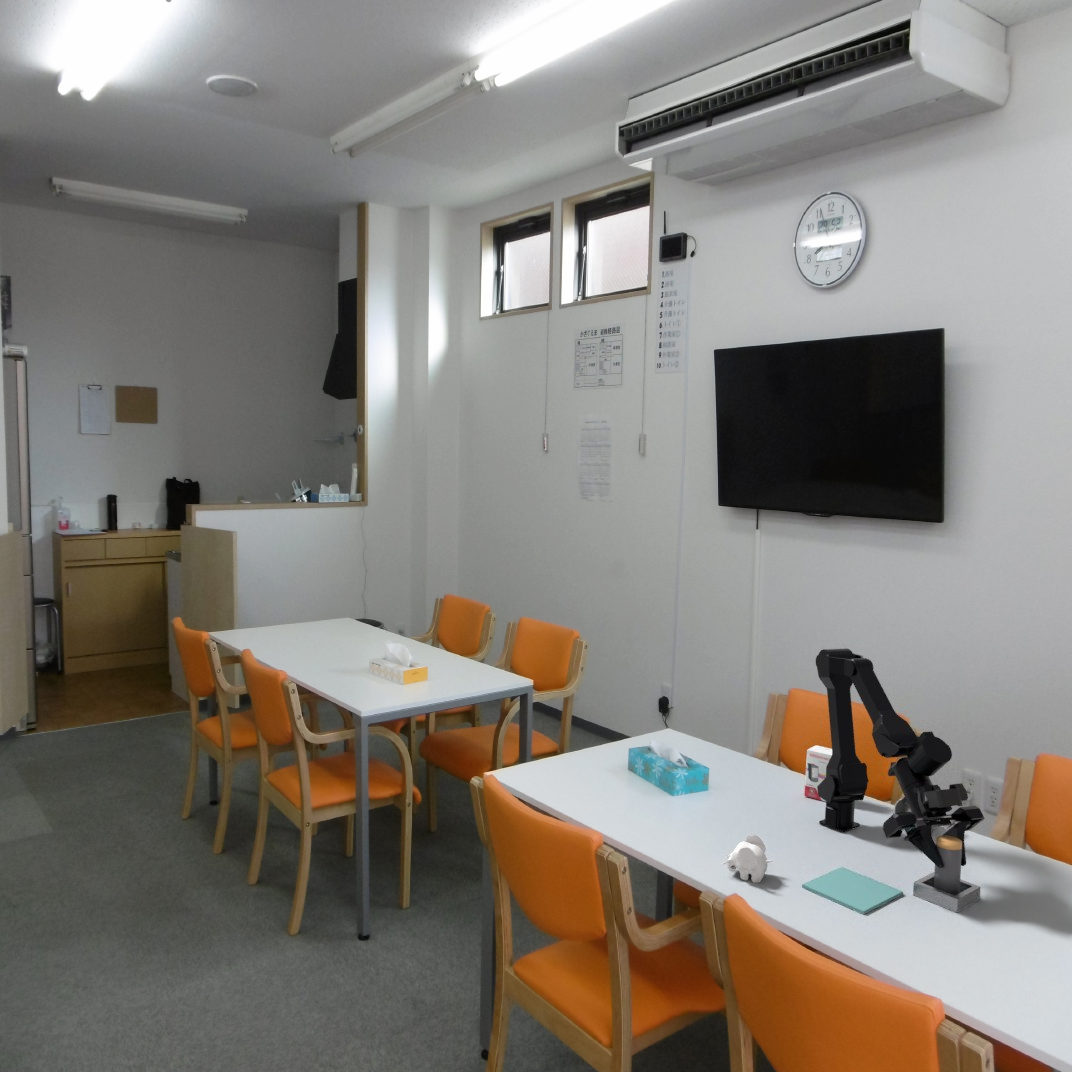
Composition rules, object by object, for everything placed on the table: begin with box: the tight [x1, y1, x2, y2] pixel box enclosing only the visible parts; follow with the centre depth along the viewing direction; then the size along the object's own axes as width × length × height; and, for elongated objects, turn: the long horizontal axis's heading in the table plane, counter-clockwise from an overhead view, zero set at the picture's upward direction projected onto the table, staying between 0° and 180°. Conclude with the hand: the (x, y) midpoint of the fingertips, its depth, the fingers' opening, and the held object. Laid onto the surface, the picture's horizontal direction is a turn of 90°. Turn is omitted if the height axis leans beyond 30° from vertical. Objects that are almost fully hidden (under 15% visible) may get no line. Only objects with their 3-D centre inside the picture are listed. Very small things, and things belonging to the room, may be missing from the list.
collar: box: [912, 871, 981, 914], centre depth 169 cm, size 8×8×2 cm
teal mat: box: [801, 866, 904, 915], centre depth 171 cm, size 13×13×1 cm
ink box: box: [803, 745, 832, 802], centre depth 219 cm, size 9×5×12 cm, turn 50°
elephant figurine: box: [721, 834, 773, 884], centre depth 176 cm, size 8×10×7 cm
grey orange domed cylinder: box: [934, 834, 962, 896], centre depth 168 cm, size 4×4×11 cm
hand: (953, 866), depth 167 cm, fingers closed on grey orange domed cylinder, 4 cm apart
